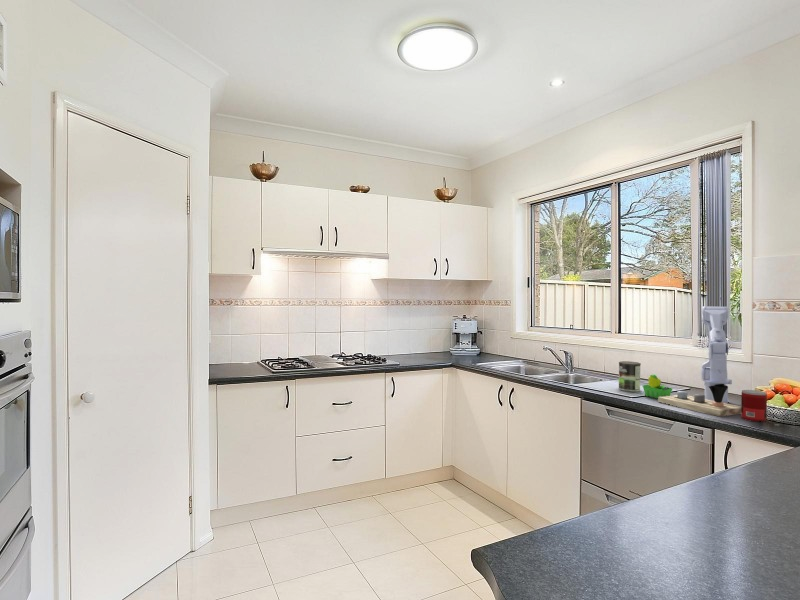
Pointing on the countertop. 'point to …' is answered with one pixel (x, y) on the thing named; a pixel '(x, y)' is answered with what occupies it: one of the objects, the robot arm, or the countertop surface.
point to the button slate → (682, 395)
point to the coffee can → (629, 376)
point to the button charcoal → (699, 398)
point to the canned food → (754, 405)
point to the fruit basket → (656, 388)
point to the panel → (701, 406)
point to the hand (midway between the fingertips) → (718, 402)
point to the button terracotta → (717, 404)
